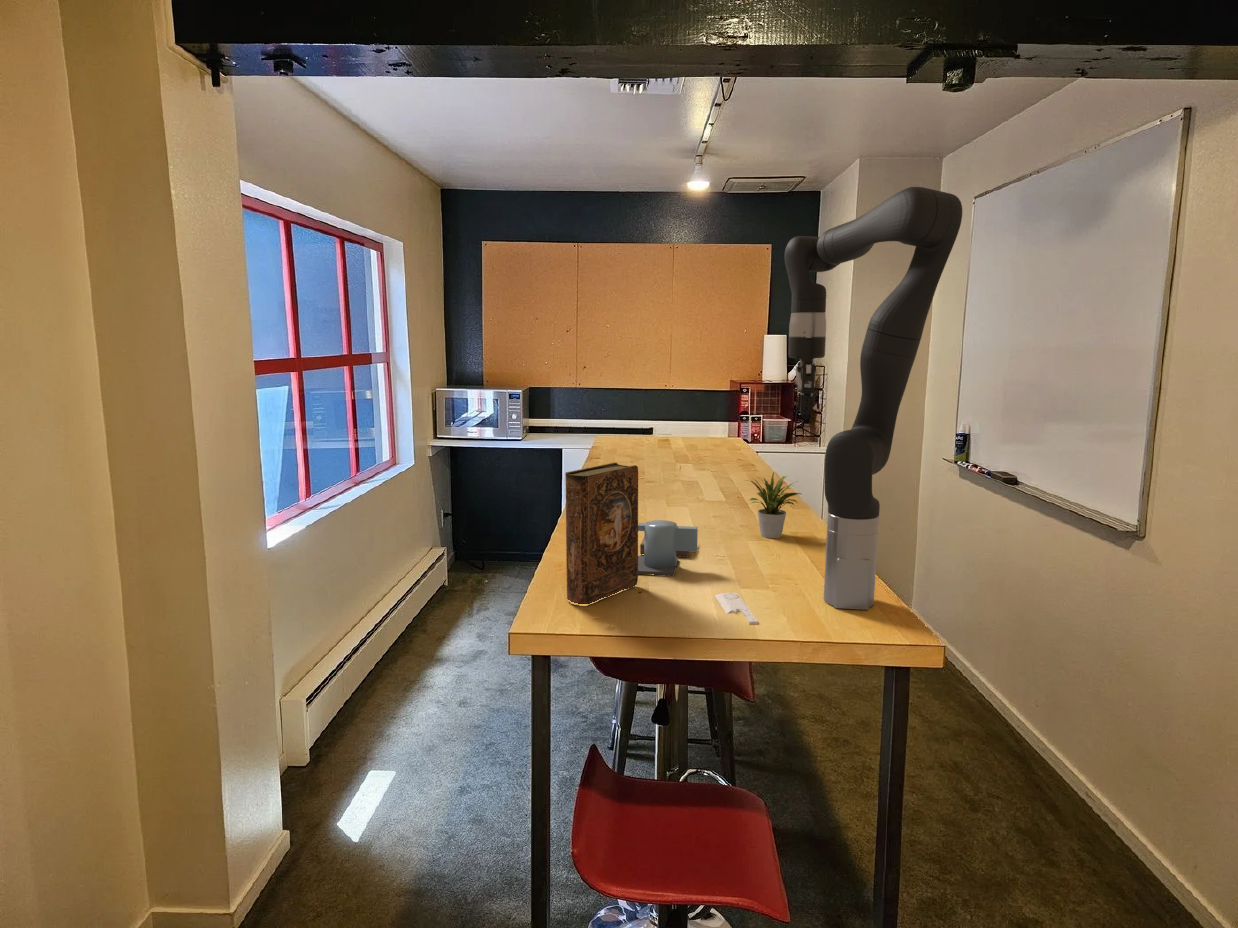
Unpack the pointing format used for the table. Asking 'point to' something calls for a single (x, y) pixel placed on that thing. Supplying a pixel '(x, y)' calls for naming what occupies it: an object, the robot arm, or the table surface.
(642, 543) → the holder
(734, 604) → the white plastic strip tool
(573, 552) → the book
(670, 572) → the mat
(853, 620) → the table surface
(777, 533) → the house plant
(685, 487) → the table surface
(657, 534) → the jug
